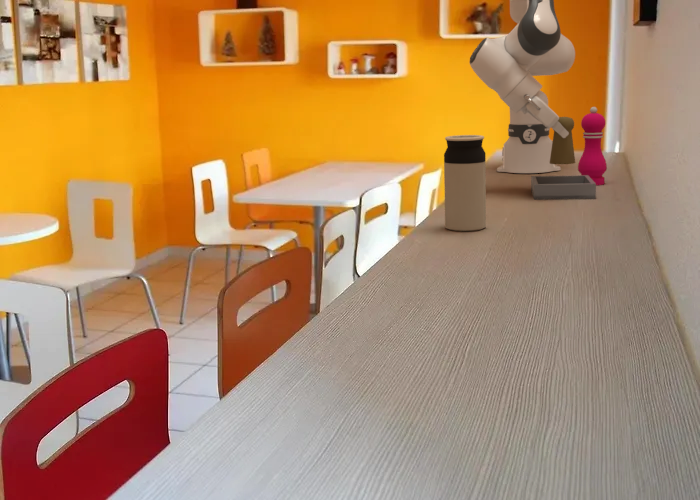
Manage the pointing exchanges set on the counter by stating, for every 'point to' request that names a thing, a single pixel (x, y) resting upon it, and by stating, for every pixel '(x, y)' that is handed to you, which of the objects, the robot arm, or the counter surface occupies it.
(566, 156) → the brown pawn
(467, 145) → the travel mug
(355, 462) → the counter surface
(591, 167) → the pepper mill
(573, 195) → the tray
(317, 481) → the counter surface
